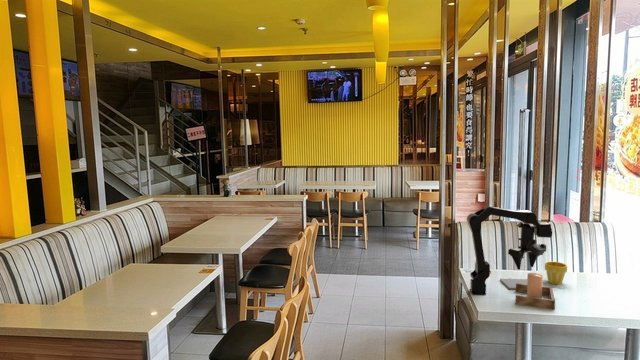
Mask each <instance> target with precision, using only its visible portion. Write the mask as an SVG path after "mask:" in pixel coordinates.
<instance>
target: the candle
mask: <svg viewBox="0 0 640 360" xmlns="http://www.w3.org/2000/svg"><path fill="white" fill-rule="evenodd" d="M526 279H527V293H526V296H528V297H535V298H543V295H542V286H543V281H544V280H543V279H544V277H543V274H541V273H536V272H528V273H527V278H526Z"/></svg>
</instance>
